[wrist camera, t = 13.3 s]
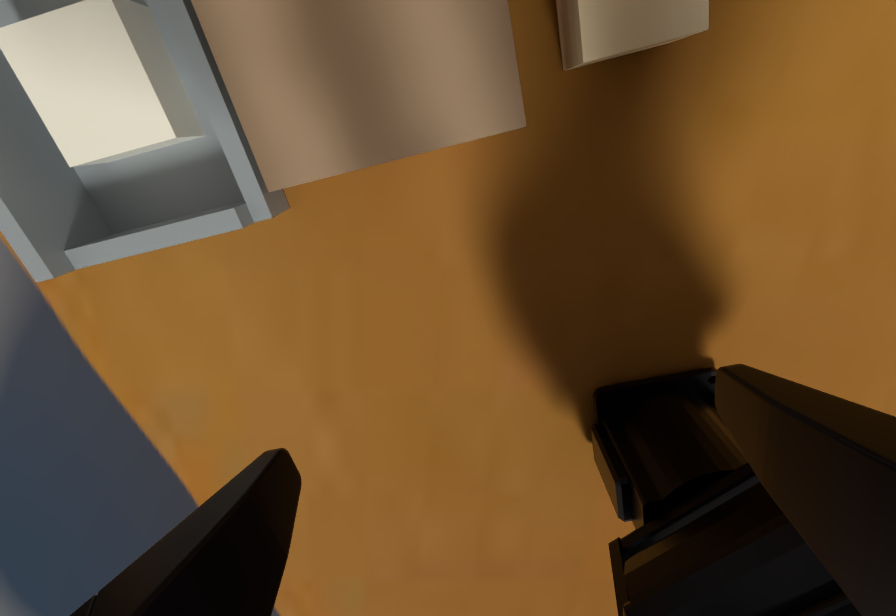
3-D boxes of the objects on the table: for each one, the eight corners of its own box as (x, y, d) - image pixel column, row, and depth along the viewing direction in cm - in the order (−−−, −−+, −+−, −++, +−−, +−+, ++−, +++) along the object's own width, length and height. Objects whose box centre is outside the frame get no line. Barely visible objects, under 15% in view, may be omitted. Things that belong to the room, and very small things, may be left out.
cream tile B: (149, 7, 15) (108, -8, 14) (205, 135, 17) (176, 137, 15) (43, 40, 16) (-10, 30, 14) (109, 162, 18) (69, 167, 16)
